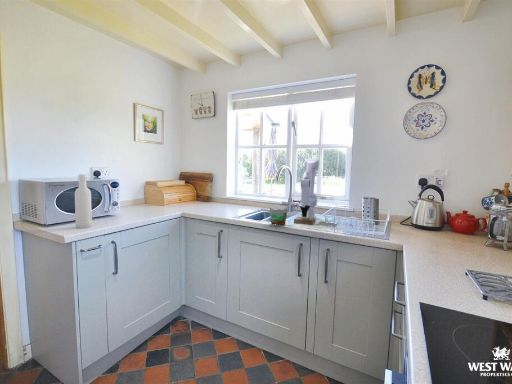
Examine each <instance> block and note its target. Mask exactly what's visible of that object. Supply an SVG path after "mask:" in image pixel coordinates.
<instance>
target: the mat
mask: <svg viewBox="0 0 512 384" xmlns="http://www.w3.org/2000/svg"><path fill="white" fill-rule="evenodd" d="M326 222H327V221H326ZM326 222H325V220H324V221H323V220H319V222H318V223H317V224H316V225H318V226H324V227H325V226H327V227H337V226H338V223H337V224H334V223H326Z"/></svg>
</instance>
